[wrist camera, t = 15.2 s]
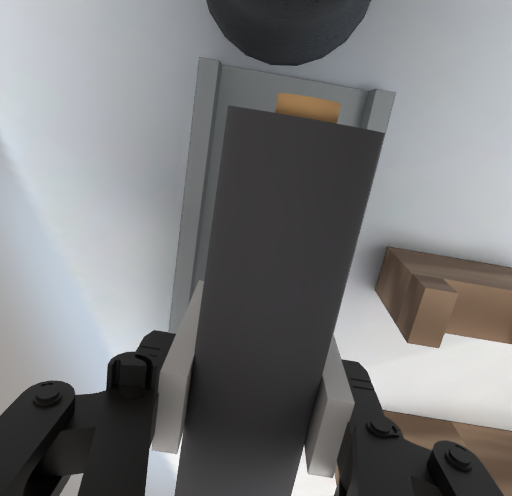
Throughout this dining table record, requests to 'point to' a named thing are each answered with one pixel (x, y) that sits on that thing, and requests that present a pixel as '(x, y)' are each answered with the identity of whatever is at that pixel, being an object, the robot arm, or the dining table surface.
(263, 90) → the grey open channel
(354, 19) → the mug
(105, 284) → the dining table surface
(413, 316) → the rest
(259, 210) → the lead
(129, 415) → the robot arm
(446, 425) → the notched wooden block
